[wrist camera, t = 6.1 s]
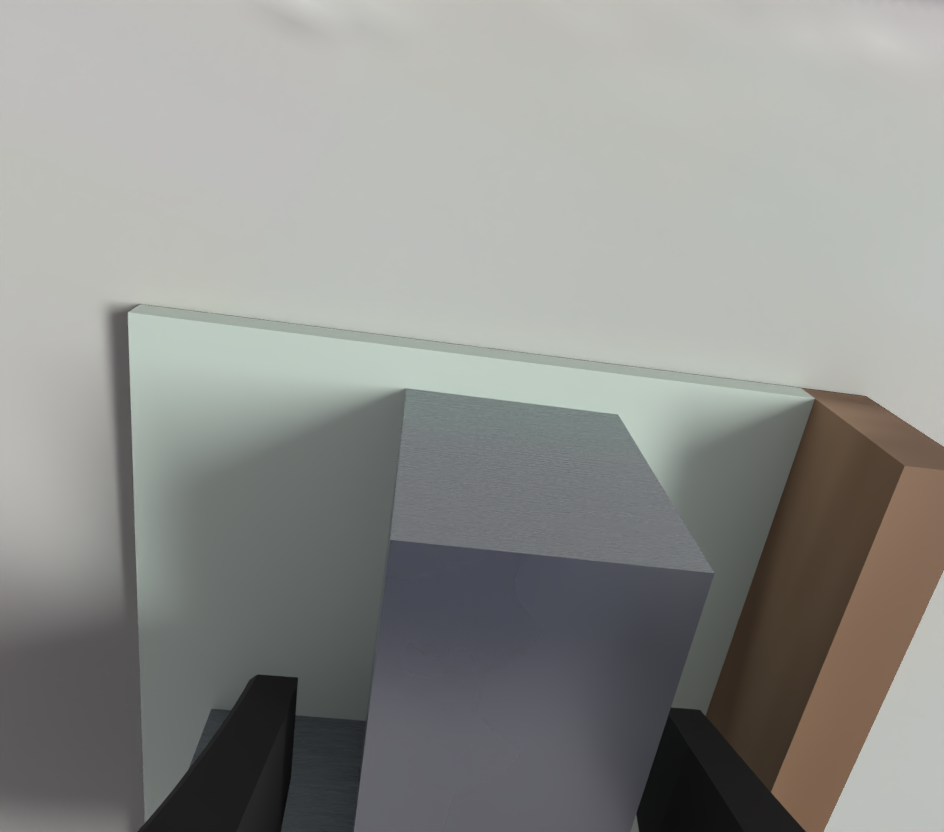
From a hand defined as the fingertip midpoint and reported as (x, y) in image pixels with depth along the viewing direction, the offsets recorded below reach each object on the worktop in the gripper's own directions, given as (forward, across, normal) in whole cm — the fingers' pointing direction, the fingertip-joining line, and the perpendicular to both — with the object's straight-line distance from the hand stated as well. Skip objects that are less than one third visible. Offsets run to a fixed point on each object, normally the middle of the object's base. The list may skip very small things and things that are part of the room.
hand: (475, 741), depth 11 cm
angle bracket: (+2, +1, 0) cm, 3 cm away
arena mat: (+3, 0, +2) cm, 3 cm away
